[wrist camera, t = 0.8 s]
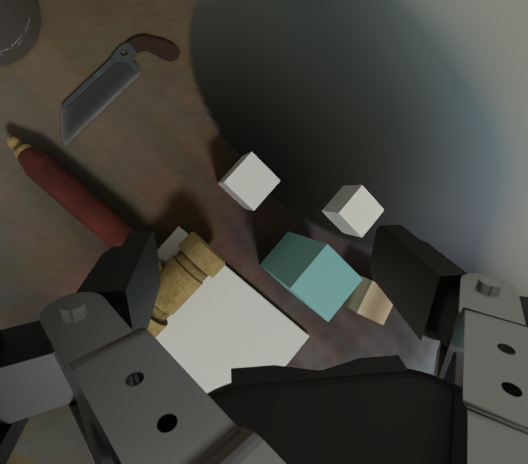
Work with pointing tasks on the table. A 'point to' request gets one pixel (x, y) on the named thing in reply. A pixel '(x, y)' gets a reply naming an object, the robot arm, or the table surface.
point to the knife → (109, 83)
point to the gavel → (122, 232)
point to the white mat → (225, 327)
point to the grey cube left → (249, 181)
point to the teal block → (312, 273)
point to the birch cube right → (369, 301)
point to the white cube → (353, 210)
